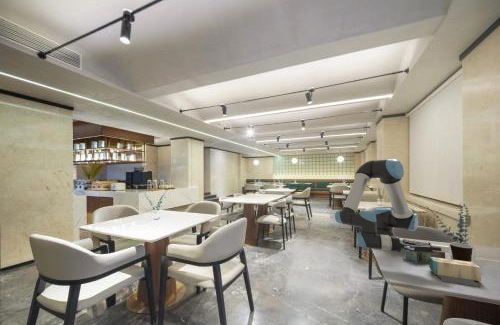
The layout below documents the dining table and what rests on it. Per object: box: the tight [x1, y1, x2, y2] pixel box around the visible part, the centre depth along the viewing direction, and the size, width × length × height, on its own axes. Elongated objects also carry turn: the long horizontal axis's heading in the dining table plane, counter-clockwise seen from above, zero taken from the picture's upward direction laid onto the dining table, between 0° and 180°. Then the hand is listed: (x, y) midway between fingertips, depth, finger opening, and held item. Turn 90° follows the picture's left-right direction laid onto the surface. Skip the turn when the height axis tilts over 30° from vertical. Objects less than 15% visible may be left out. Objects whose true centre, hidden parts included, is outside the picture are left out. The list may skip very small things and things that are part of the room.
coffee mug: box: [449, 242, 474, 262], centre depth 112 cm, size 12×9×10 cm
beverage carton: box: [404, 249, 447, 264], centre depth 117 cm, size 8×19×7 cm, turn 100°
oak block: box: [429, 257, 482, 282], centre depth 98 cm, size 6×6×16 cm
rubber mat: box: [429, 265, 480, 288], centre depth 98 cm, size 16×12×1 cm
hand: (449, 249), depth 99 cm, fingers closed
